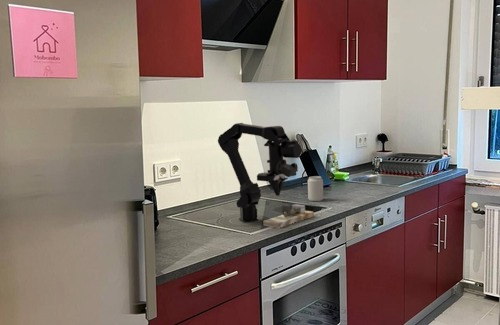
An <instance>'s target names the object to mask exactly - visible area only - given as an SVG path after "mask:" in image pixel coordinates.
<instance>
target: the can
mask: <svg viewBox="0 0 500 325" xmlns="http://www.w3.org/2000/svg"><path fill="white" fill-rule="evenodd" d="M307 196H308V200H309V201H310V202H313V201H318V202H322V201H323V199H324V179H323V178H322V176H320V175H319V176H318V175H314V176H309V177H308V179H307Z"/></svg>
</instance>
